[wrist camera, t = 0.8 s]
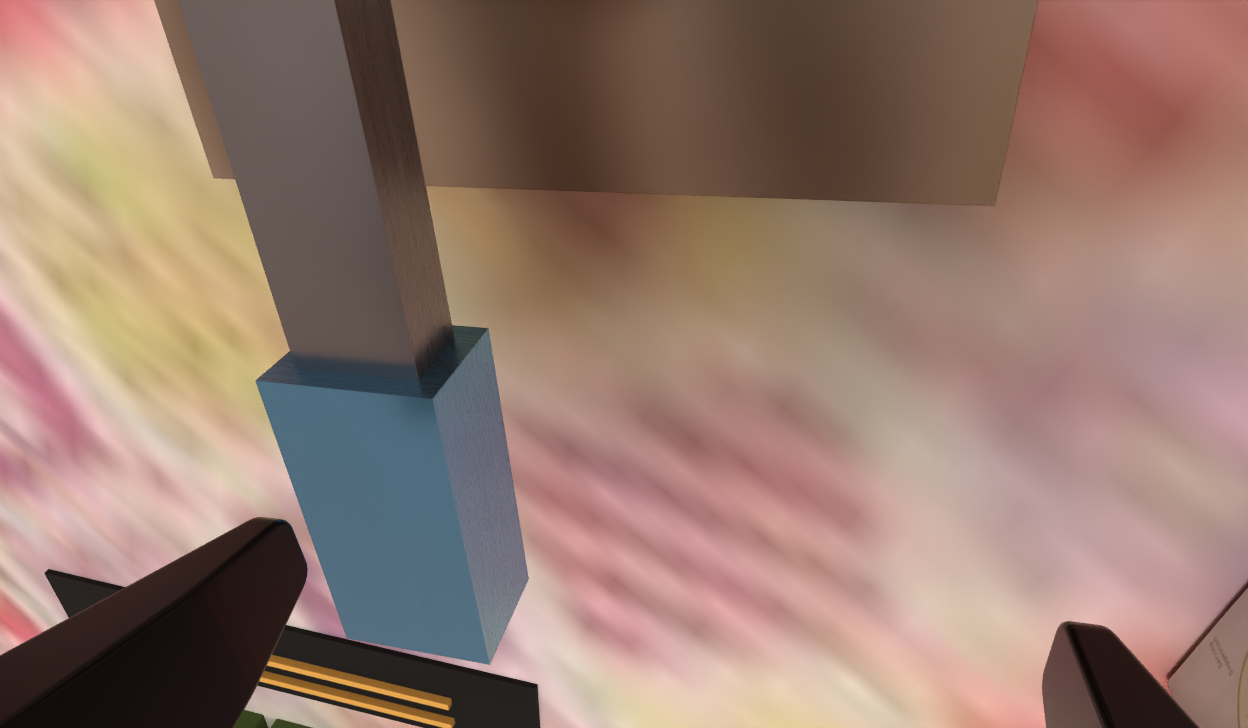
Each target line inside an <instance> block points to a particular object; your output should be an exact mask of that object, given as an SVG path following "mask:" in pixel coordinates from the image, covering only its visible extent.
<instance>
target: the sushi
mask: <svg viewBox="0 0 1248 728" xmlns="http://www.w3.org/2000/svg"><path fill="white" fill-rule="evenodd" d="M45 575H46V577H47V579H48V581H49V582H50V584H51V586H52V588H53V590H54V592H55V593H56V595H57V597H58V599H59V601H60V602H61V604H62V606H63V608H64V610H65V612H66V613H67V615H68V617H69V618H70V617H72V616H74V615H76V614H77V613H79V612H81V611H83V610H85V609H87V608H89V607H90V606H92V605H94V604H96V603H98V602H100V601H101V600H103V599H105V598H107V597H109V596H111V595H112V594H114V593H116V592H118V591H120V590H122V589H124V588H125V587H122V586H118V585H114V584H109V583H105V582H101V581H97V580H92V579H88V578H84V577H80V576H75V575H71V574H67V573H63V572H58V571H54V570H50V569H48V570H47V571H46V572H45ZM257 686H261V687H265V688H269V689H273V690H277V691H281V692H285V693H289V694H293V695H297V696H301V697H305V698H309V699H312V700H316V701H320V702H324V703H328V704H332V705H336V706H340V707H344V708H348V709H352V710H356V711H360V712H364V713H368V714H372V715H376V716H380V717H383V718H387V719H391V720H395V721H399V722H403V723H407V724H411V725H415V726H419V727H423V728H540V719H539V702H538V686H537V684H534V683H530V682H525V681H521V680H517V679H513V678H508V677H504V676H500V675H496V674H491V673H487V672H483V671H479V670H474V669H470V668H466V667H462V666H457V665H453V664H449V663H445V662H441V661H436V660H432V659H428V658H424V657H419V656H415V655H411V654H407V653H402V652H398V651H394V650H390V649H385V648H381V647H377V646H373V645H368V644H364V643H360V642H356V641H351V640H347V639H343V638H339V637H334V636H330V635H326V634H322V633H317V632H313V631H309V630H305V629H300V628H296V627H292V626H288V625H286V626H285V628H284V630H283V632H282V634H281V636H280V638H279V640H278V643H277V645H276V647H275V649H274V651H273V653H272V655H271V658H270V660H269V662H268V664H267V666H266V668H265V670H264V673H263V675H262V677H261V679H260V681H259V683H258V685H257ZM234 728H268V726H267V724H266V721H265V718H264V716H263V715H262V714H258V713H254V712H250V711H246V710H244V711H243V712H242V714H241V716H240V717H239V719H238V721H237V723H236V724H235V726H234ZM271 728H311V727H307V726H304V725H300V724H296V723H292V722H288V721H284V720H281V719H276V721H275V722H274V724H273V725H272V727H271Z"/></svg>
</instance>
